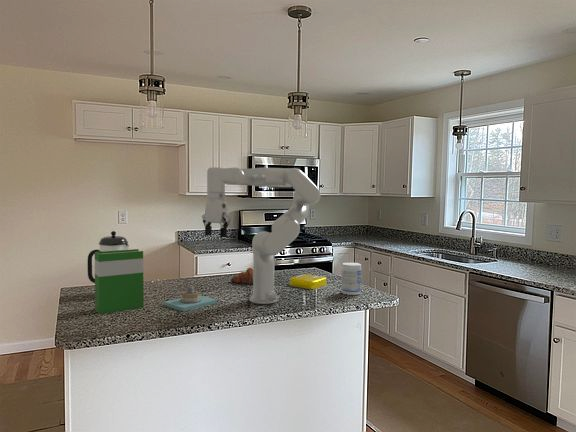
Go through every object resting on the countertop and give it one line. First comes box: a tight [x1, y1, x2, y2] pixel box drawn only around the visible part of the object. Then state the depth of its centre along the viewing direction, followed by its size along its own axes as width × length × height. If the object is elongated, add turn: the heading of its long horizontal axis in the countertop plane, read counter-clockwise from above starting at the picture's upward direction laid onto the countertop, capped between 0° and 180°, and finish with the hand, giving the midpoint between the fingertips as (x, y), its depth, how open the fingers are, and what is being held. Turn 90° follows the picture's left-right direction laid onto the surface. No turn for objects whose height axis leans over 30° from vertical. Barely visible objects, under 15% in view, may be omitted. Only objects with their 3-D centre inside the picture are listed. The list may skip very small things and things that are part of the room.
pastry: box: [230, 267, 253, 285], centre depth 240 cm, size 17×15×8 cm
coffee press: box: [87, 230, 131, 284], centre depth 208 cm, size 17×16×30 cm
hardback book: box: [94, 248, 145, 315], centre depth 185 cm, size 18×7×24 cm, turn 125°
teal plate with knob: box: [163, 286, 218, 312], centre depth 194 cm, size 14×18×8 cm
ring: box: [181, 290, 200, 302], centre depth 194 cm, size 7×7×3 cm
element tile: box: [289, 273, 327, 290], centre depth 236 cm, size 15×15×5 cm
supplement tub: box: [341, 262, 362, 296], centre depth 218 cm, size 10×10×15 cm
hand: (215, 236), depth 191 cm, fingers open, 9 cm apart
